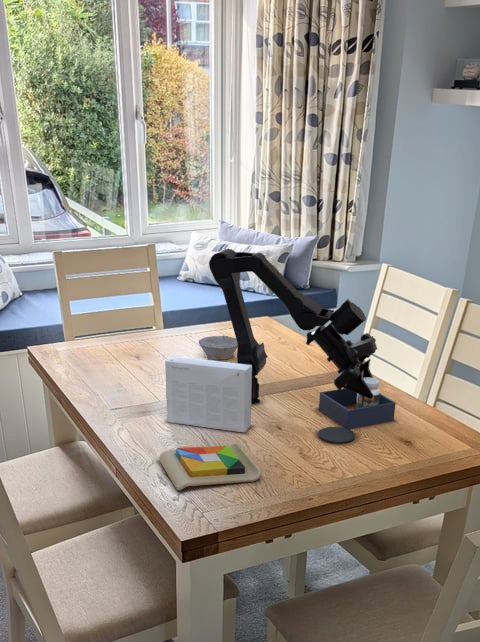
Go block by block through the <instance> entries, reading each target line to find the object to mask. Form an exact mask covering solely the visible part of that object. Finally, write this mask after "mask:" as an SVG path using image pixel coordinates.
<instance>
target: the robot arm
mask: <svg viewBox="0 0 480 642" xmlns="http://www.w3.org/2000/svg"><path fill="white" fill-rule="evenodd" d="M208 266H209V270H210V272H211V275H212V276H213V277H212V278H213V279H214V281H215V282H216V283H217V285H218V286H219V288H220V289H221V291H222V294H223V297H224V300H225V305H226V308H227V312H228V315H229V319H230V323H231V325H232V329H233V333H234V336H235V338H236V340H237V345H238V347H237V349H236V361H237V362H236V363H238V364H246V365H252V390H251V405H253V404H258V403H260V402H261V399H259V398H260V383H259V379H258V377H256V376H258V375H259V373H260V372H261V371H262V370H263V369H265V366H266V364H267V358H268V357H269V356H268V354H267V353H266V349H265V343H264V342H260V343H259V342H258V341H257V340H256V338H255V336H254V332H253V327H252V325H251V320H250V317H249V314H248V310H247V306H246V303H245V299H244V294H243V292H242V288H241V273H247V272H249V273H253V274H255V276H256V277H258V279H259V280H260V281H261V282H262V283H263V284H264V285H265V286H266V287H267V288H268V289H269V290H270V291H271V292H272V293H273V294H274V295H275V296H276V297H277V298H278V299H279V300H280V301H281V302H282V304H284V306H285V307H286V308H287V310H288V313H289V315H290V317H291V318H292V320H293V321H294V323H295V324H296V325H297V327H298V328H299V329H300V330H302V331H308V332H307V333H306V341H305V342H306V345H307V346H309V345H310V344H311V343H313V341H314V342H315V343H316V344H317V345H318V347H319V348H320V350H322V351H323V353H324V354H325V355H326V356H327V358H326V360H327V362H328V363H330V362H332V363H333V364H334V366H335V367H336V368H337V369H338V370H337V373H338V374H337V375H336V376H335V378H334V380H333V385H334V387H336V390H337V389H338V390H340V389H343V388H347V389H349V390H352V391H354V392H356V393H359V394H361V395H363V396H365V397H367V398H370V399H371V398H372V397H373V394H372V392H371V390H370V389H369V387H368V386H367V384H366V382H365V381H364V379H363V378H366V377H371V378H374V376H373V374H372V372H371V369H370V364H371V358H370V357H371V356H372V355H374V354H375V353H376V351H377V350H378V346H377V344H376V343H377V342H376V341H377V340H376V338H375V337H374V336H373V335H372V336H371V335H370V333H368V332H366V333H363V334H362V335H361V336H360V340H357V341H356V342H354V343H353V342H352V341H351V340H349V339H347V340H346V339H345V338H344V337H343V335H346V336H349V335H350V334H351V333H353V332H354V331H355V330H356V329H357V328H359V327H360V326H361V325H362V324H363V323H365V322H366V321H367V318H366V315H365V313H364V312H363V310H362V308H361V307H360V306H358V305H357V304H355V303H354V302H352V301H351V300H350V299H349V298H347V299H346V300H345V301H343V302H342V304H341V305H340V306H339V307H338V308H336V309H335V310H334V309H329V308H325V307H322V306H321V305H320V304H319V303H318V302H317V301H315V300H314V299H312V298H311V297H309V296H307V295H306V294H303V293H301V292H300V291H298V289H296V288H295V286H294V285H293V284H292V283H291V282H290V281H289V280H288V279H287V278H286V277H285V276H284V275H283V274H282V273H281V272H280V271H279V270H278V269H277V268H276V267H275V266H274V265H273V263H271V262H270V261H269V259H267V257H266V256H265V254H263V253H262V252H246V251H235V250H233V249H232V248H224V249H222V250H219V251H218V252H216V253H214V254H213V255H212V256H211V257H210V259H209V262H208ZM326 324H327V325H326ZM316 327H317V328H316ZM315 328H316V329H315ZM314 329H315V330H314ZM312 330H314V331H312ZM366 359H367V360H366Z"/></svg>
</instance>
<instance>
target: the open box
mask: <svg viewBox="0 0 480 642" xmlns="http://www.w3.org/2000/svg"><path fill="white" fill-rule="evenodd" d="M318 397H319V400H318V411H319V412H320V413H322V414H324V415H325V416H326V417H328V418H329V419H331V420H332V421H334V422H335V423H337V424H338V425H339V426H340V427H342V428H346V429H349V430H353V429H358V428H363V427H368V426H374V425H378V424H379V425H380V424H384V423H391V422H394V421H395V414H396V413H395V412H396V403H397V402H396V401H394V400H392V399H390V398H388V396H385V395H384V394H382V393H380V400H379V405H375V406H369V407H363V408H357V409H356V408H352V409H348V408H347V407H349V406H356V402H357V393H356V392H354V391H352V390H349V389H347V388H341V389H340V390H338V389H337V388H336V389H331V390H326V391H319V396H318Z"/></svg>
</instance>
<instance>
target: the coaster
mask: <svg viewBox="0 0 480 642" xmlns="http://www.w3.org/2000/svg"><path fill="white" fill-rule="evenodd" d="M317 437H318V439H319V440H320V441H322V442H324V443H327V444H332V445H344V444H349V443H352V442H354V440H355V439H356V433H355V432H354V431H353V430H352V429H346V428H344V427H342V426H327V427H324V428H321V429H320V430H318V432H317Z"/></svg>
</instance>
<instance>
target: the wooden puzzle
mask: <svg viewBox="0 0 480 642" xmlns="http://www.w3.org/2000/svg"><path fill="white" fill-rule="evenodd" d="M158 459H159V460H158V461H159V463H160V464H161V466H162V468H163V469H164V471H165V472H166V474H167V476H168V478H169V479H170V481H171V483H172V484H173V485H174V487H175V489H176V490H177V491H182V490H183V489H185V488H187V487H197V486H210V485H221V484H235V483H236V484H237V483H249V482H256V481H258V480H259V479H260V478H261V477H262V471H261V469H260V467H259V466H258V465H257V464H256V463H255V461H254V460H253V458H251V457H250V456H249V454H248V453H247V452H246V451H245V450H244V448H242V446H241V445H240V444H239V443H238V442H233V443H232V444H231V445H228V444H227V445H211V446H185V447H183V446H182V447H181V446H180V447H177V448H176V449H168V450H164V451H162V452H161V453H160V454H159V457H158Z"/></svg>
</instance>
